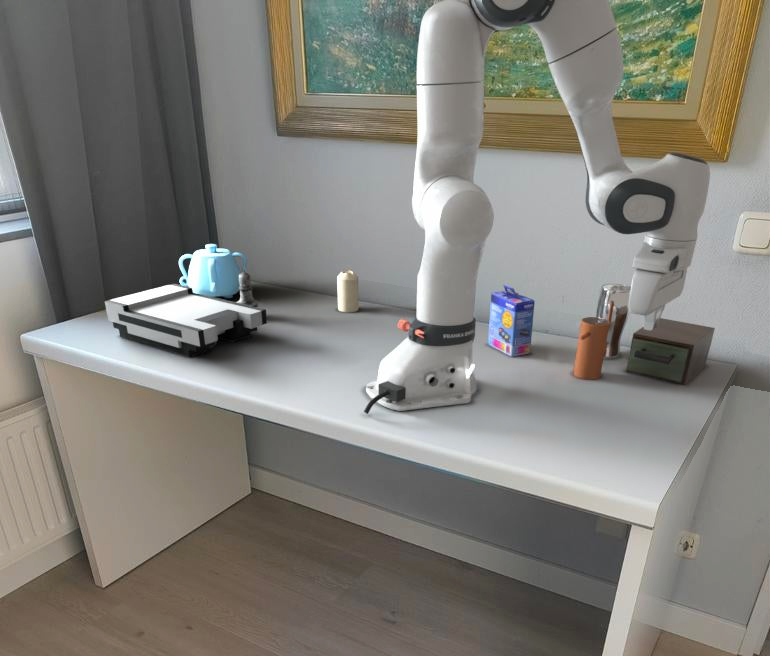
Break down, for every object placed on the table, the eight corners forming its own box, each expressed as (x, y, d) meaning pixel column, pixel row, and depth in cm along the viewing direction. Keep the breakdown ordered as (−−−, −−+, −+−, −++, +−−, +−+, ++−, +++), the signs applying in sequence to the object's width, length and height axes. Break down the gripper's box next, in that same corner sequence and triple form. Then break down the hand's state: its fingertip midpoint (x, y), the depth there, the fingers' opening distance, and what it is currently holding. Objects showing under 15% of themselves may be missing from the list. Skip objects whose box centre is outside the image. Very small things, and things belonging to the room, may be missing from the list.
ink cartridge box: (485, 344, 167) (490, 281, 159) (505, 341, 169) (510, 279, 162) (510, 357, 160) (517, 292, 152) (530, 353, 162) (538, 289, 154)
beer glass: (622, 360, 158) (635, 292, 150) (590, 358, 159) (601, 290, 151) (620, 350, 164) (632, 284, 156) (589, 348, 165) (599, 282, 157)
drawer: (673, 388, 142) (681, 355, 139) (619, 375, 148) (625, 344, 144) (700, 364, 154) (708, 333, 151) (649, 353, 160) (655, 324, 156)
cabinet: (684, 385, 146) (694, 345, 141) (625, 371, 152) (633, 333, 148) (705, 365, 156) (714, 327, 151) (649, 354, 162) (657, 317, 158)
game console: (202, 362, 156) (197, 325, 152) (111, 335, 172) (104, 301, 167) (268, 338, 170) (265, 304, 166) (178, 315, 186) (174, 283, 182)
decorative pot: (257, 294, 204) (253, 244, 197) (211, 305, 194) (205, 253, 187) (222, 284, 214) (216, 236, 207) (176, 294, 203) (169, 244, 196)
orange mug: (579, 368, 154) (588, 315, 148) (604, 374, 151) (614, 319, 145) (562, 380, 148) (570, 325, 142) (587, 386, 145) (596, 330, 139)
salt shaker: (248, 312, 189) (243, 265, 183) (264, 315, 186) (260, 268, 180) (232, 317, 185) (226, 269, 179) (248, 321, 182) (243, 273, 176)
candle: (358, 312, 189) (357, 273, 184) (337, 312, 189) (336, 273, 184) (359, 306, 194) (358, 269, 188) (338, 306, 194) (337, 268, 188)
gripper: (668, 242, 138) (652, 313, 145) (629, 259, 124) (614, 337, 131) (701, 247, 135) (683, 320, 142) (665, 265, 121) (648, 344, 128)
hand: (650, 328), depth 137 cm, fingers closed
